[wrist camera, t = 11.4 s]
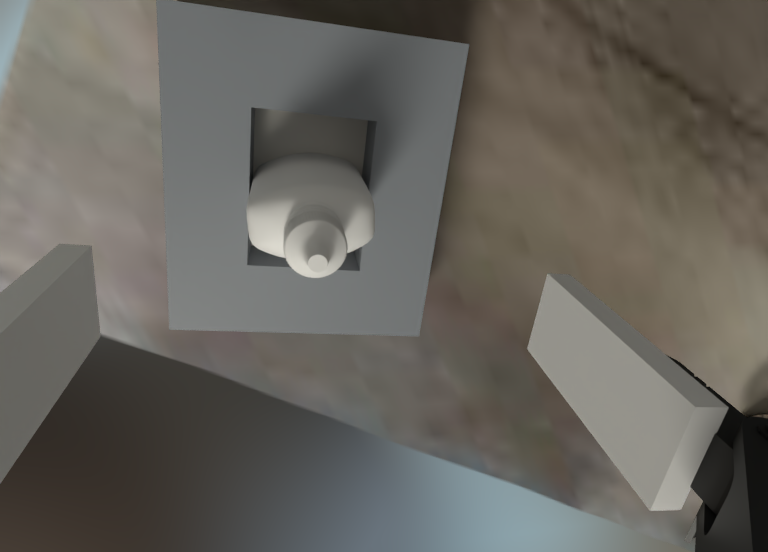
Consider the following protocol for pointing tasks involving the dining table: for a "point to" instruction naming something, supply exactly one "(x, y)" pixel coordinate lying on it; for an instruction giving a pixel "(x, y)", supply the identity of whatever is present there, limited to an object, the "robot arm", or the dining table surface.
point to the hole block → (291, 136)
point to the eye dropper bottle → (310, 211)
